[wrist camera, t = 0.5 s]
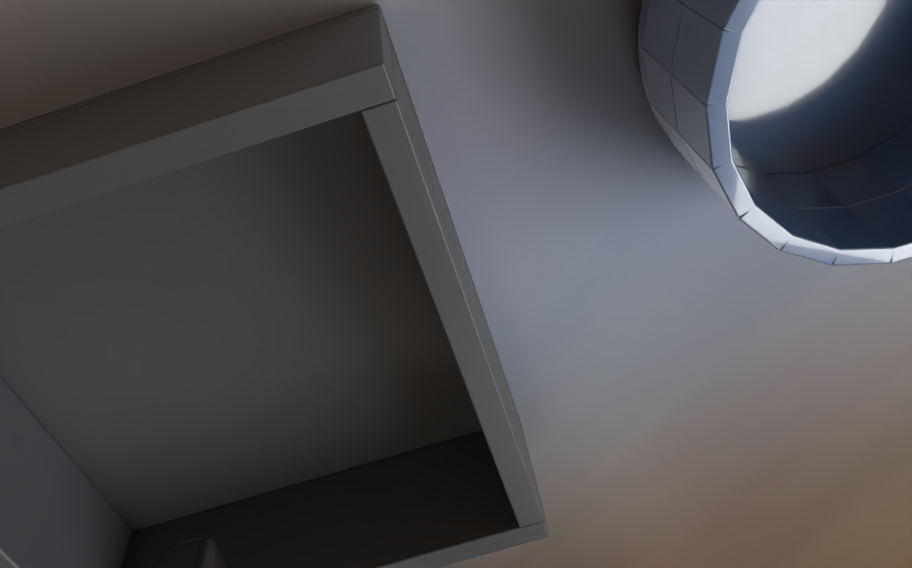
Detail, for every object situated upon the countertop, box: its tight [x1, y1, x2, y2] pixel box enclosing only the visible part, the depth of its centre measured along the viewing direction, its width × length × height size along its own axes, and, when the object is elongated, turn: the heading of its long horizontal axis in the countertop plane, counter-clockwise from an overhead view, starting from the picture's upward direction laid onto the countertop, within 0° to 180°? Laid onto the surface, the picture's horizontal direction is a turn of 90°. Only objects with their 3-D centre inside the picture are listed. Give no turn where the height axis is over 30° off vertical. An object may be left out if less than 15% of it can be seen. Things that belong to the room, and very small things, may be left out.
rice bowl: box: [638, 0, 912, 265], centre depth 18 cm, size 10×10×5 cm
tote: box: [0, 4, 549, 568], centre depth 22 cm, size 16×16×5 cm
